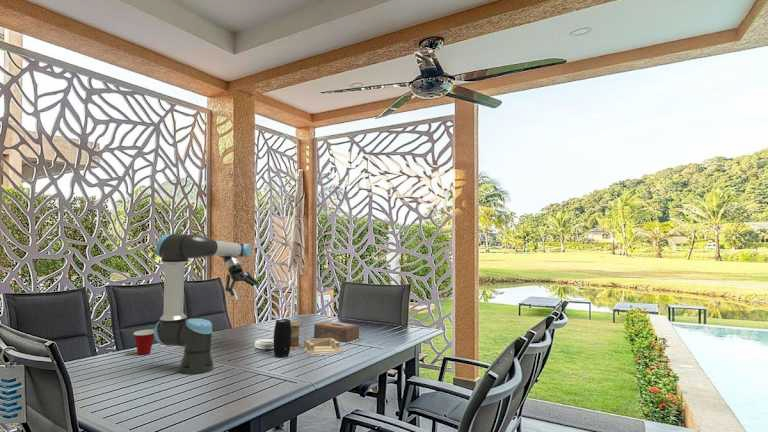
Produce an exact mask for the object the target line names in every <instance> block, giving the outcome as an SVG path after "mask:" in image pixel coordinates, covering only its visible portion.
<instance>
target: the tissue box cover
mask: <svg viewBox="0 0 768 432" xmlns="http://www.w3.org/2000/svg"><path fill="white" fill-rule="evenodd" d="M313 326H314V327H313V328H314V329H313V339H314V338H319V339H322V338H333V339H334V340H336V341H339V342H346V343H347V342H350V341H353V340H356V339H359V340H360V324H350V323H346V322H345V323H344V322H337V321H331V320H326V321H323V322H322V321H321V322H318V323H314V325H313Z"/></svg>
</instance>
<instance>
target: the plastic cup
mask: <svg viewBox="0 0 768 432" xmlns="http://www.w3.org/2000/svg"><path fill="white" fill-rule="evenodd" d="M133 335H134V338H135V339H134V340H135V344H136V351H137V355H138V356H145V355H147V356H148V355H149V354H151V350H152V347H153V342H154V339H155V338H154V329H153V328H152V329H151V328H149V329H141V330H137V331H135V332H133Z"/></svg>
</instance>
